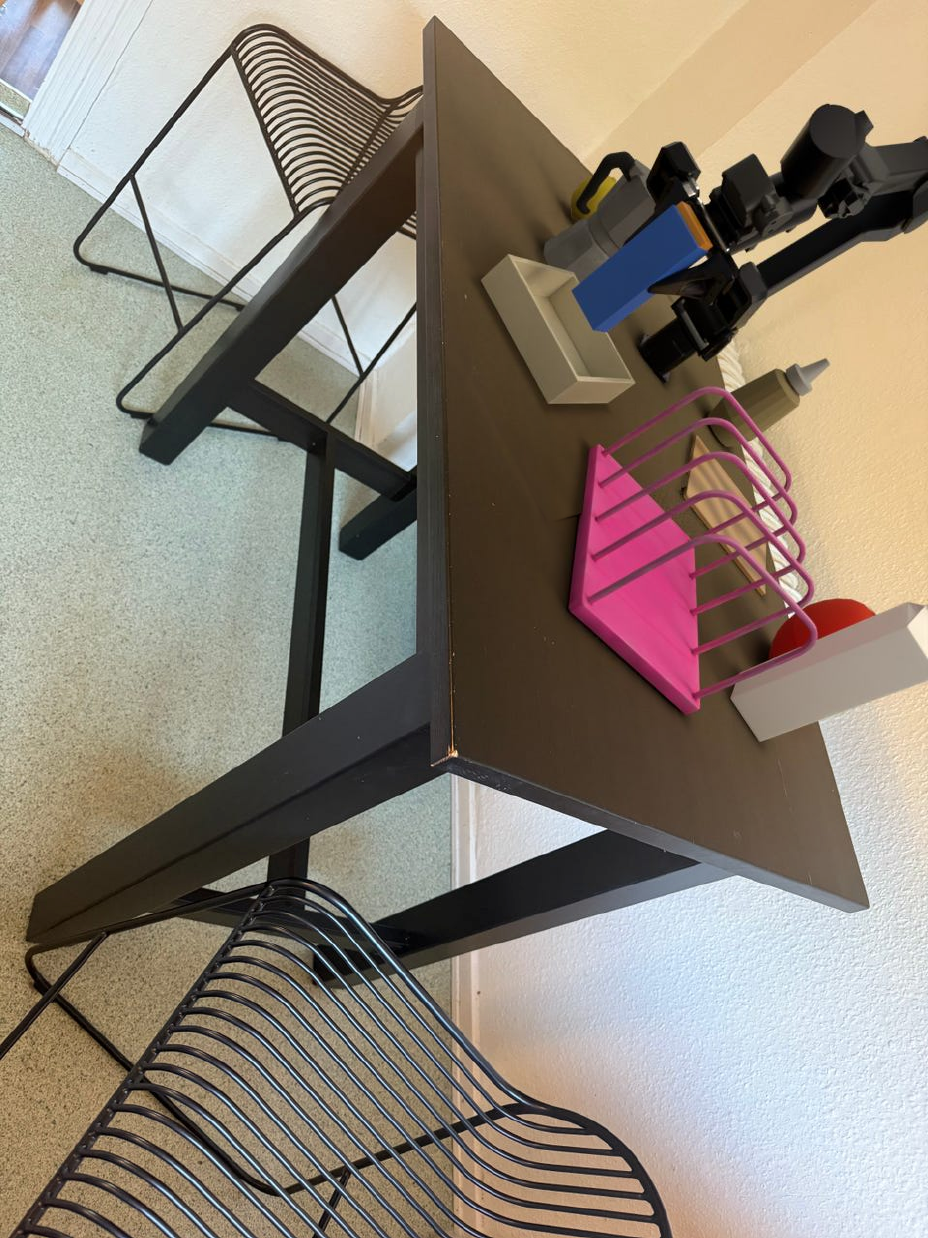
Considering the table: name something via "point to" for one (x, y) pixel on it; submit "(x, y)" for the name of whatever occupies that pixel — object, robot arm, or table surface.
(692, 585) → the file sorter
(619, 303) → the orange-tipped blue bar
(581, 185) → the lemon
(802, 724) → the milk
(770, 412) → the squeeze bottle
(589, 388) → the basin
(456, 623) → the table surface
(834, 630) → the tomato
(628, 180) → the coffeepot
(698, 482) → the square wooden board
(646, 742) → the table surface
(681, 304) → the robot arm
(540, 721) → the table surface
